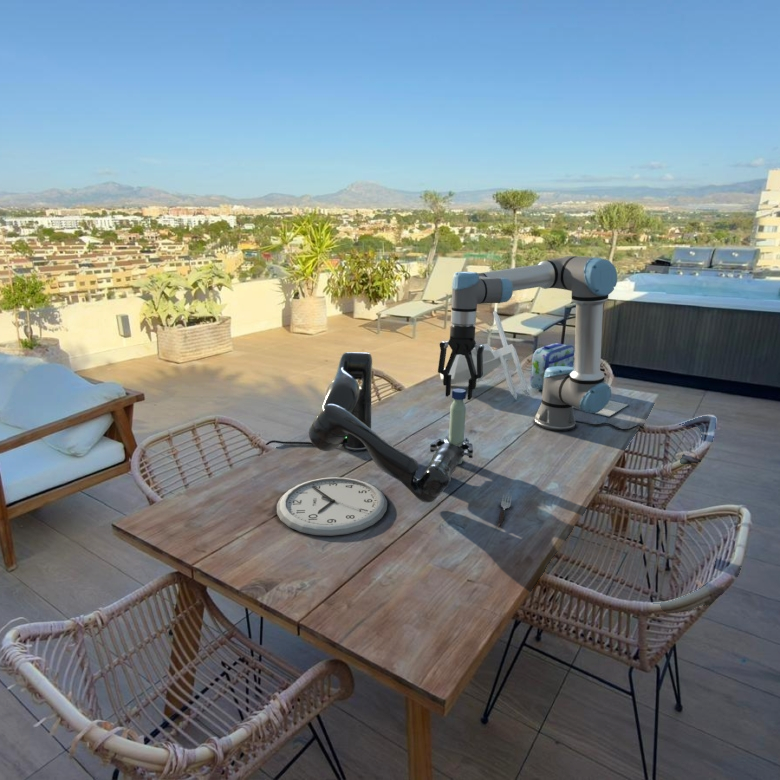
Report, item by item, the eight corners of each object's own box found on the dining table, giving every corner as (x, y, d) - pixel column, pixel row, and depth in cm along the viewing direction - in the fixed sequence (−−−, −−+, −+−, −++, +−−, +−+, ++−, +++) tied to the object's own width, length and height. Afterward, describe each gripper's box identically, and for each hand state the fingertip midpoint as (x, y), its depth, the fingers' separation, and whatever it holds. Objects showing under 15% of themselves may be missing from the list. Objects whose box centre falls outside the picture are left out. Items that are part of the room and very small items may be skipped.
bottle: (458, 465, 168) (462, 396, 161) (444, 462, 170) (448, 393, 163) (464, 460, 172) (469, 392, 165) (451, 456, 174) (455, 390, 167)
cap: (468, 398, 164) (468, 391, 163) (458, 400, 162) (458, 393, 161) (459, 394, 167) (459, 387, 167) (449, 396, 165) (449, 389, 164)
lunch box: (546, 395, 240) (551, 350, 234) (526, 389, 248) (530, 346, 241) (573, 384, 258) (578, 342, 252) (553, 379, 265) (558, 339, 259)
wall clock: (392, 527, 129) (268, 531, 127) (391, 533, 130) (269, 537, 127) (383, 473, 158) (282, 475, 155) (383, 478, 158) (282, 480, 156)
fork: (493, 528, 133) (493, 521, 132) (502, 499, 147) (503, 492, 147) (503, 530, 132) (504, 523, 131) (511, 500, 146) (512, 494, 146)
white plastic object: (461, 429, 252) (437, 405, 227) (444, 352, 274) (420, 323, 250) (535, 404, 240) (518, 377, 215) (510, 326, 262) (492, 293, 237)
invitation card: (608, 416, 214) (573, 407, 224) (608, 416, 214) (573, 408, 224) (628, 404, 229) (594, 396, 238) (628, 405, 229) (594, 397, 238)
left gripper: (422, 467, 160) (436, 446, 175) (468, 475, 155) (478, 453, 170) (423, 444, 157) (437, 425, 173) (470, 452, 153) (480, 431, 168)
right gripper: (497, 325, 157) (491, 397, 164) (436, 319, 164) (433, 389, 171) (492, 329, 151) (486, 404, 158) (428, 323, 158) (425, 396, 165)
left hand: (457, 439), depth 171 cm, fingers closed on bottle, 5 cm apart
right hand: (458, 396), depth 164 cm, fingers open, 6 cm apart
